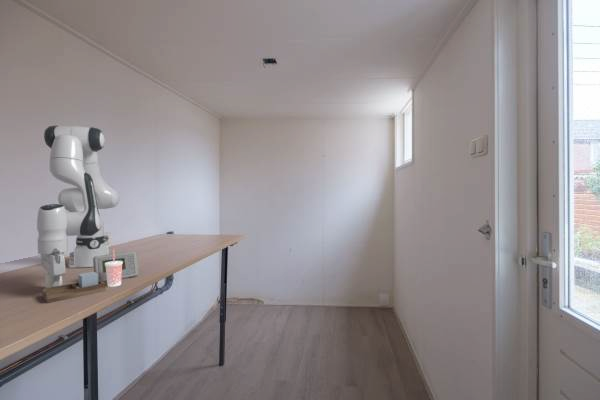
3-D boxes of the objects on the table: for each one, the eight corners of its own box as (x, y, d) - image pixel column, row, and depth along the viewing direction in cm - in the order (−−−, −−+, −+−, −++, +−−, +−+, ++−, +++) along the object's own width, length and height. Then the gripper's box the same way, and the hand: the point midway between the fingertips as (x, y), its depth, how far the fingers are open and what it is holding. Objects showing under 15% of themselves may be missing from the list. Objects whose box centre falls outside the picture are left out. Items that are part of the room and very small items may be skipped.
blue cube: (78, 287, 114) (78, 274, 114) (94, 284, 118) (93, 271, 118) (82, 290, 111) (81, 276, 111) (98, 287, 115) (97, 273, 114)
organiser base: (42, 296, 108) (42, 289, 108) (98, 285, 121) (97, 278, 121) (47, 303, 102) (47, 294, 102) (105, 290, 115) (105, 283, 114)
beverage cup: (110, 282, 124) (109, 248, 124) (126, 282, 125) (125, 248, 124) (101, 287, 118) (101, 251, 118) (118, 287, 118) (117, 251, 118)
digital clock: (93, 284, 122) (92, 258, 122) (94, 279, 130) (93, 254, 129) (138, 278, 130) (138, 253, 130) (137, 273, 138) (137, 250, 138)
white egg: (44, 289, 116) (44, 274, 116) (61, 286, 119) (60, 271, 119) (47, 292, 112) (46, 276, 112) (64, 289, 116) (63, 273, 116)
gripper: (70, 249, 111) (71, 287, 111) (57, 243, 124) (58, 277, 125) (47, 252, 106) (49, 292, 107) (37, 245, 120) (38, 280, 120)
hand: (54, 283), depth 116 cm, fingers closed on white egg, 5 cm apart
